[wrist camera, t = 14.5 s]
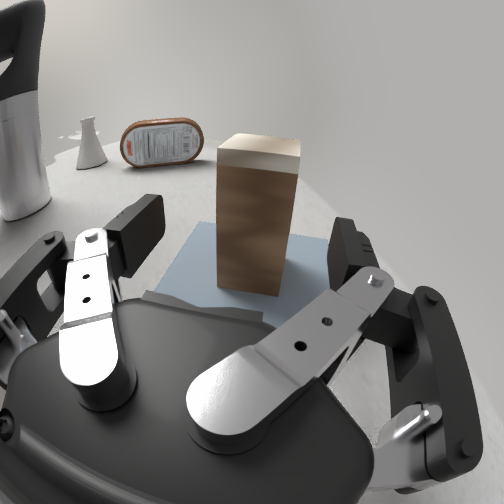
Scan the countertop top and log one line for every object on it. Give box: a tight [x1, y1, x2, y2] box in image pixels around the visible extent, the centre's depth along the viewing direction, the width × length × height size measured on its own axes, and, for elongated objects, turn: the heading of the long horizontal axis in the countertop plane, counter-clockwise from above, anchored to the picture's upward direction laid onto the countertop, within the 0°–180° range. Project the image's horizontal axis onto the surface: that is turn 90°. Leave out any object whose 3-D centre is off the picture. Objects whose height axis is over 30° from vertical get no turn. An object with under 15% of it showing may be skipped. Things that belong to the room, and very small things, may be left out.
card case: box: [216, 133, 301, 297], centre depth 19 cm, size 4×5×10 cm
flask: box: [76, 117, 107, 169], centre depth 44 cm, size 7×7×10 cm
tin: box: [120, 118, 204, 168], centre depth 43 cm, size 15×3×8 cm, turn 108°
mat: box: [154, 222, 330, 328], centre depth 22 cm, size 13×13×1 cm
